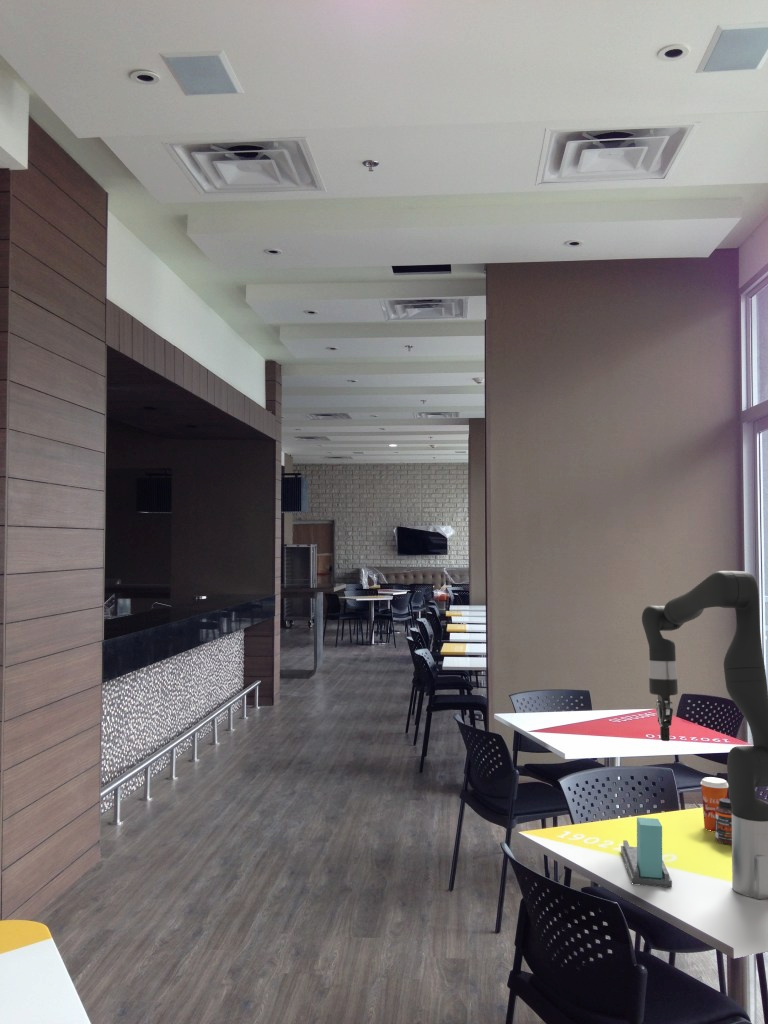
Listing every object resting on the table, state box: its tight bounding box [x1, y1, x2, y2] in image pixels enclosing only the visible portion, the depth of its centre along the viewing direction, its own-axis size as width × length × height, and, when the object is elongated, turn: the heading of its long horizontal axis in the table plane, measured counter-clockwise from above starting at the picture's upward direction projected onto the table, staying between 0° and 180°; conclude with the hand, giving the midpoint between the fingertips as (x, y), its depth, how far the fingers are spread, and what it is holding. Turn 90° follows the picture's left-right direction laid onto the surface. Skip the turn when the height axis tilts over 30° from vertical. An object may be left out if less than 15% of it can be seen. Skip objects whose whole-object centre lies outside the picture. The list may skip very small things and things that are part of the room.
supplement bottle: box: [714, 798, 732, 846], centre depth 227 cm, size 6×6×11 cm
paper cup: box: [700, 776, 729, 832], centre depth 238 cm, size 8×8×14 cm
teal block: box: [636, 817, 663, 878], centre depth 198 cm, size 6×5×12 cm
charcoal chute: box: [620, 839, 673, 889], centre depth 205 cm, size 23×9×3 cm, turn 170°
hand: (665, 740), depth 229 cm, fingers closed
